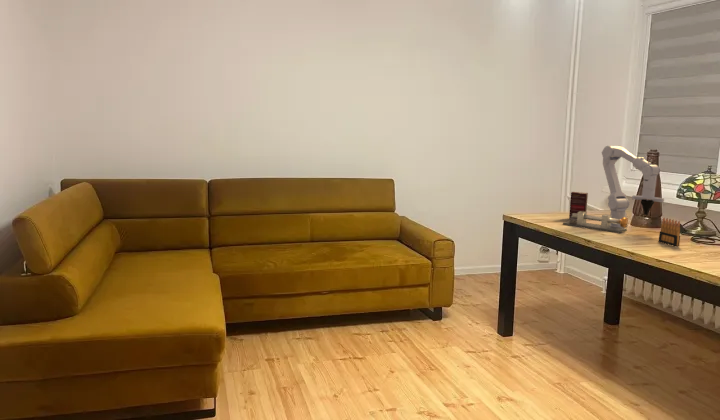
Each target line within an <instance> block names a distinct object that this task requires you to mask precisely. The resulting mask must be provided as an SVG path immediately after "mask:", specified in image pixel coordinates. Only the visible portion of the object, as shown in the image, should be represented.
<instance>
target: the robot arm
mask: <svg viewBox="0 0 720 420" xmlns="http://www.w3.org/2000/svg"><path fill="white" fill-rule="evenodd" d="M601 155H602V166H603V170H604V174H605V177H606V180H607V185H608V188H609V192H610V195H609V196H608V197H607V200H608V203H607V205H608V207H609V210H610V214H609V215H611V218H613V219H620V220H621V219H622V217H624V218H628V215H627V214H628V213H627V212H626V211H627V209H628V208H629V207H630V200H629V199H628V197H627V195H626V194H625V193H624V192H623V191H622V188H621V184H620V181H619V176H618V173H617V170H616V166H615V164H616V163H617V162H618V161H619V159H621V158H622V159H624V160H627V162H628V161H629V162H630V163H631V164H632V166H633V168H635V169H637V170H638V171H639V172H641V174H642V176H643V181H642V182H643V183H642V191H641V195H634V194H633V195H632V198H631V199H632V200H637V201H638V200H639V201H640V204H641V205H642V209H643V215H645V216H649V213H650V211H651V208H652V206H653V205H654V204H655V203H656V202H658V203H664V202H665V198H663V197H656V196H655V195H656V187H657V179H658V176H659V174H660V173H661V172H660V171H661V169H660V167H659V165H658V164H652V162H650V161H648V160H646V159H645V157H643V156H638V157H637V156H635V155H634V154H633V153H631V152H629V151H628V150H627V149H626V147H624V146H621V145H607V146H604V148H603V149H602V151H601ZM611 226H612V227H618V228H624V227H621V226H620V224H615V223H611ZM627 227H628V224H627Z"/></svg>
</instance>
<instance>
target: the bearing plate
mask: <svg viewBox="0 0 720 420" xmlns="http://www.w3.org/2000/svg"><path fill="white" fill-rule="evenodd" d="M584 215H588V212H587V211H586V212H585V211H580V212H578V215H577V220H568V221H564V222H562V225H566V226H569V227H570V226H572V227H577V228H578V227H579V228H584V229H591V230H597V231H603V232H610V233H615V234H621V233H624V232H627V230H628V229H627V228H626V227H623V228H618V227H612V226H611V223H608V218H611V215H610V214H606V213H605V214H602V215H601V217H602V221H600V222H601V223H600V224H597V223H589V222H587V219H583V218H584Z"/></svg>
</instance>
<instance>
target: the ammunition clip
mask: <svg viewBox="0 0 720 420" xmlns="http://www.w3.org/2000/svg"><path fill="white" fill-rule="evenodd" d="M680 233H681V221H680V220H678V221H677V220H676V219H675V220H674V219H671V218H669V219H668V217H663V218H662V221H661V227H660V231H659V236H658V243H661V242H662V243H661V244H665V243H666V245H668V244H669V245H668V246H672V245H673V246H672V247H675V246H679V247H680V242H681V235H680Z"/></svg>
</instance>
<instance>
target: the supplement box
mask: <svg viewBox="0 0 720 420" xmlns="http://www.w3.org/2000/svg"><path fill="white" fill-rule="evenodd" d="M588 197H589V193H588V192H582V191H581V192H580V191H571V192H570V203H569V216H568V219H569V220H570V219H571V220H570V221H577V218H574V217H572V214H573V213H577V214H578V212H580V211H585V212H587V209H588Z"/></svg>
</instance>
